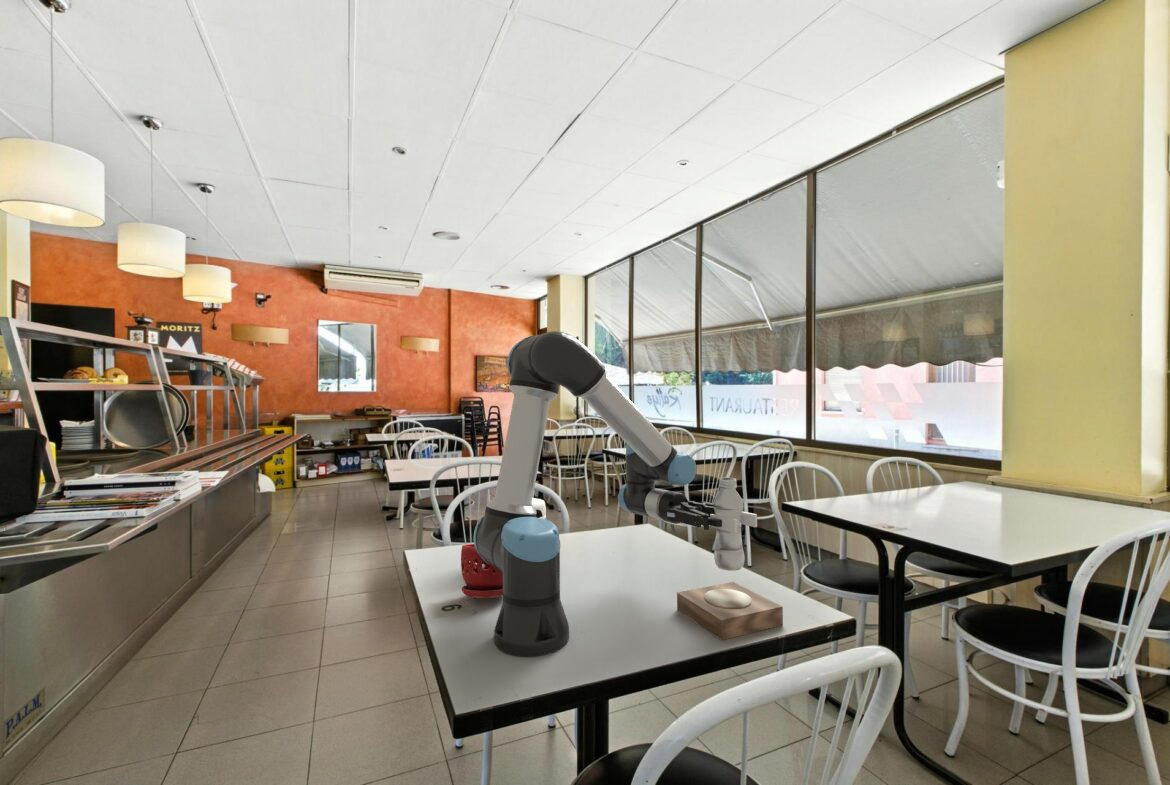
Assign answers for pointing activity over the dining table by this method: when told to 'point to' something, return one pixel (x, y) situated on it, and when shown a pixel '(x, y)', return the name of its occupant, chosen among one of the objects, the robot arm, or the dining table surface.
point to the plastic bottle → (728, 542)
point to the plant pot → (479, 575)
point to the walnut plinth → (729, 610)
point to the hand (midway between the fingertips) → (746, 523)
